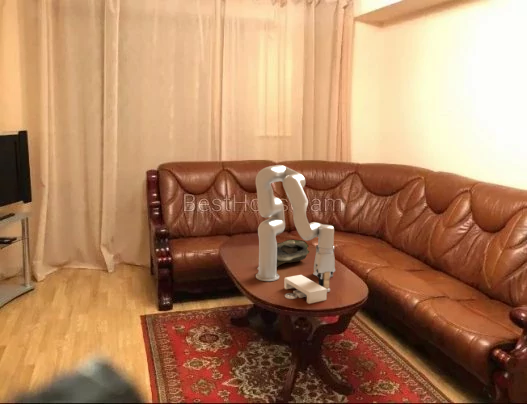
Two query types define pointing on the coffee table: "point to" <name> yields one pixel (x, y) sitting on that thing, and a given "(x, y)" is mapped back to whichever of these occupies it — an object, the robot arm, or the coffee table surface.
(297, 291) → the white-handled mallet
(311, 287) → the cream flanged plate
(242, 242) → the coffee table surface
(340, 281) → the coffee table surface
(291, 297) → the token
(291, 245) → the hollow geode rock
